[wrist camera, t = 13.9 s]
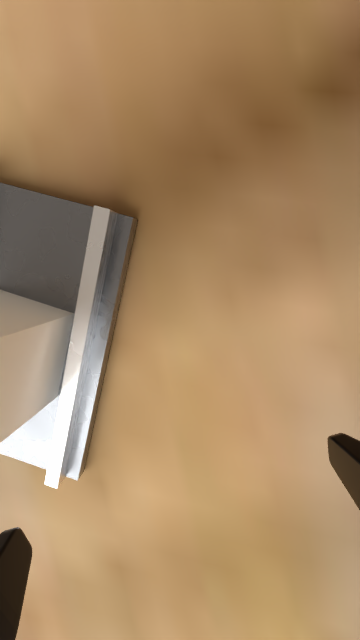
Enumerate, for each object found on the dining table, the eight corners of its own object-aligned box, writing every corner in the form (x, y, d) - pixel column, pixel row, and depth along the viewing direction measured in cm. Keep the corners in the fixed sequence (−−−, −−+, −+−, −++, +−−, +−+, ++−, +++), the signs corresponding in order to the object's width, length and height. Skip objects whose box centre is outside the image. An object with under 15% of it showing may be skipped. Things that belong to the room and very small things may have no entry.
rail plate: (137, 220, 17) (126, 213, 15) (83, 470, 22) (69, 493, 20) (-28, 176, 18) (-60, 164, 16) (-47, 425, 23) (-75, 442, 21)
